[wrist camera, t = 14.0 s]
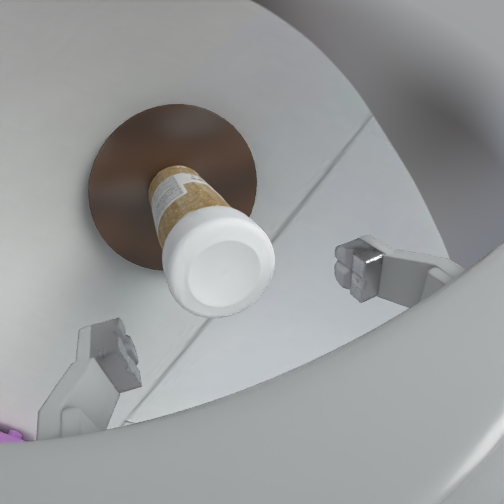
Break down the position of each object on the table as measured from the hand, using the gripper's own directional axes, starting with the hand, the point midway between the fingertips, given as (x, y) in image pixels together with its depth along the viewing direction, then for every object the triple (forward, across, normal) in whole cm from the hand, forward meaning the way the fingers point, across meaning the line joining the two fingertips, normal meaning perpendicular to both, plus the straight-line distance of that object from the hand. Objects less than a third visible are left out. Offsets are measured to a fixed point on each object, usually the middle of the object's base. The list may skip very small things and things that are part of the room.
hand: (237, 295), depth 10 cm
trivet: (+16, 0, 0) cm, 17 cm away
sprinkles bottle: (+15, 0, 0) cm, 15 cm away
